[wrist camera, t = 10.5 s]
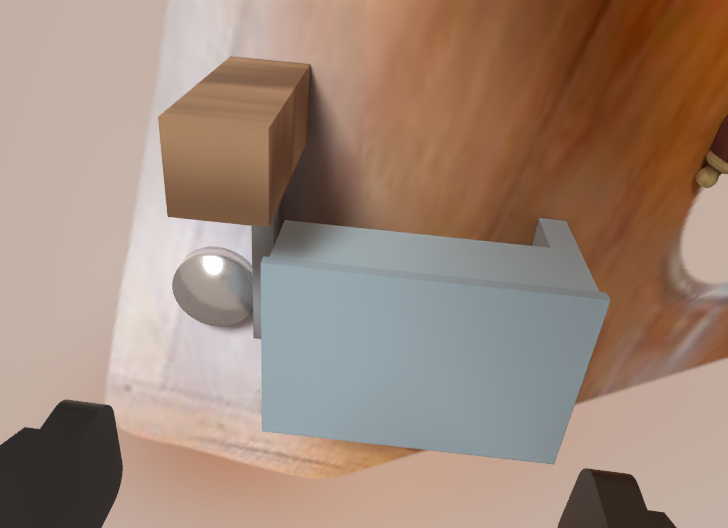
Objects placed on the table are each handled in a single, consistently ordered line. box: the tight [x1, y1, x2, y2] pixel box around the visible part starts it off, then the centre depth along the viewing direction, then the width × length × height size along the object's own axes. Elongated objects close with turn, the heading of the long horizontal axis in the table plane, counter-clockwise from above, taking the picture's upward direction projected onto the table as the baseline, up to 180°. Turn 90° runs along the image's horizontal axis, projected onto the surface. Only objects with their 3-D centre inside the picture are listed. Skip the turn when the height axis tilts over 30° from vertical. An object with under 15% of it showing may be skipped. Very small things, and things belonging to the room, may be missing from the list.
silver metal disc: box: [172, 247, 253, 326], centre depth 37 cm, size 5×5×1 cm
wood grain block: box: [158, 57, 310, 339], centre depth 30 cm, size 16×4×10 cm, turn 175°
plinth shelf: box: [261, 218, 611, 464], centre depth 33 cm, size 10×15×8 cm
